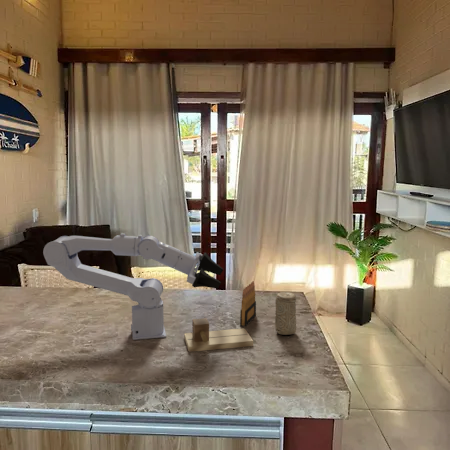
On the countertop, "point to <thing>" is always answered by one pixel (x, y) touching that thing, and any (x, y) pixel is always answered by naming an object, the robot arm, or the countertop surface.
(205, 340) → the mallet
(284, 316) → the carving
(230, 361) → the countertop surface
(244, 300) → the ammunition clip
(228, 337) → the board
